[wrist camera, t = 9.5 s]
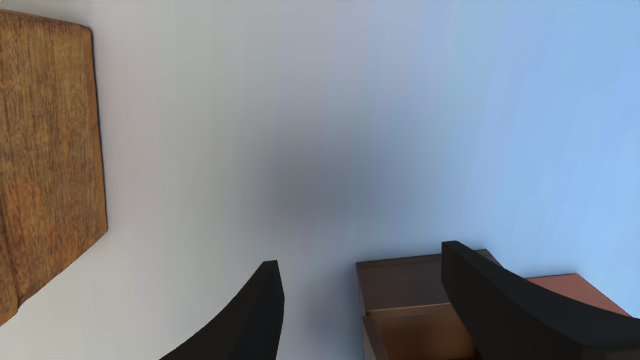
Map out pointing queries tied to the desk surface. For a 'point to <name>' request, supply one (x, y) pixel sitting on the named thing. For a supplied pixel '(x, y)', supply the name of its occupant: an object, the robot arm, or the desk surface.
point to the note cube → (578, 291)
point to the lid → (372, 340)
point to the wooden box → (46, 154)
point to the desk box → (414, 309)
